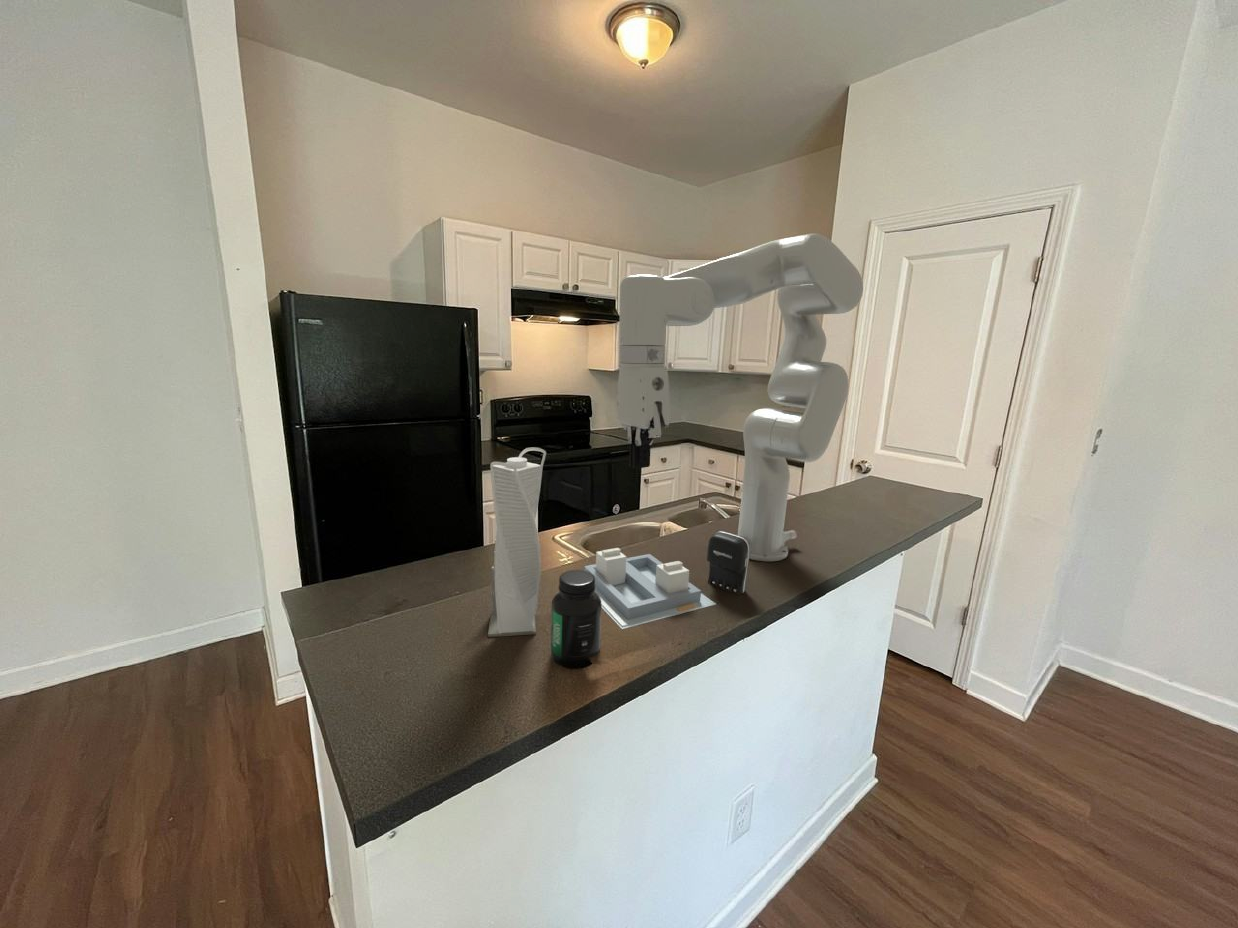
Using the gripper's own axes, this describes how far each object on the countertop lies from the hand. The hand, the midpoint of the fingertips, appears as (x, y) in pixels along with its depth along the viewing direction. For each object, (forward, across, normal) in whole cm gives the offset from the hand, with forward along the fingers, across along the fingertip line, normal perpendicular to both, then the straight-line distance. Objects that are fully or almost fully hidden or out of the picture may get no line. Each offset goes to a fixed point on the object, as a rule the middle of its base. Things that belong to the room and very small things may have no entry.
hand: (639, 466), depth 83 cm
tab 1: (+21, +2, +5) cm, 22 cm away
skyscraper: (+22, -2, +23) cm, 32 cm away
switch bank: (+23, -3, +1) cm, 23 cm away
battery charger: (+24, -9, -13) cm, 28 cm away
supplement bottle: (+22, -13, +18) cm, 32 cm away
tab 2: (+22, -7, -2) cm, 23 cm away
